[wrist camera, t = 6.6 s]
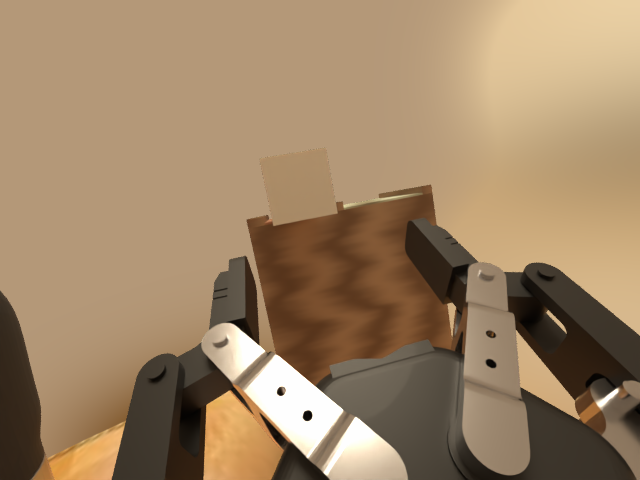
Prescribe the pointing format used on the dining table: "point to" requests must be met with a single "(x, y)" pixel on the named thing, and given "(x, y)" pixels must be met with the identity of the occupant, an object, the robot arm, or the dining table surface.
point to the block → (298, 186)
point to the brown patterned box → (347, 283)
